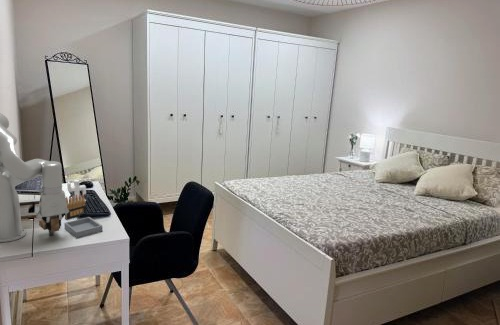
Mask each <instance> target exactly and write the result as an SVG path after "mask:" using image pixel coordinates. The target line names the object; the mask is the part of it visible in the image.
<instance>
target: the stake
mask: <svg viewBox="0 0 500 325" xmlns="http://www.w3.org/2000/svg"><path fill="white" fill-rule="evenodd" d="M48 236H49V237H53V236H55V232H51V231H49V230H48Z"/></svg>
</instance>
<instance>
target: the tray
mask: <svg viewBox="0 0 500 325" xmlns="http://www.w3.org/2000/svg"><path fill="white" fill-rule="evenodd" d="M63 225H64V230H65V231H66V232H68V233H70V235H71V236H73V237H74V238H76V239H80V238H83V237H84V238H85V237H87V236H91V235H95V234H98V233H99V234H100V233H102V232H104V231H103V225H102V224H100V223H99V222H97V221H96V220H95V219H93V218H92V217H90V216H87V217H84V218H79V219H75V220H71V221H66V222H64V224H63Z"/></svg>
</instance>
